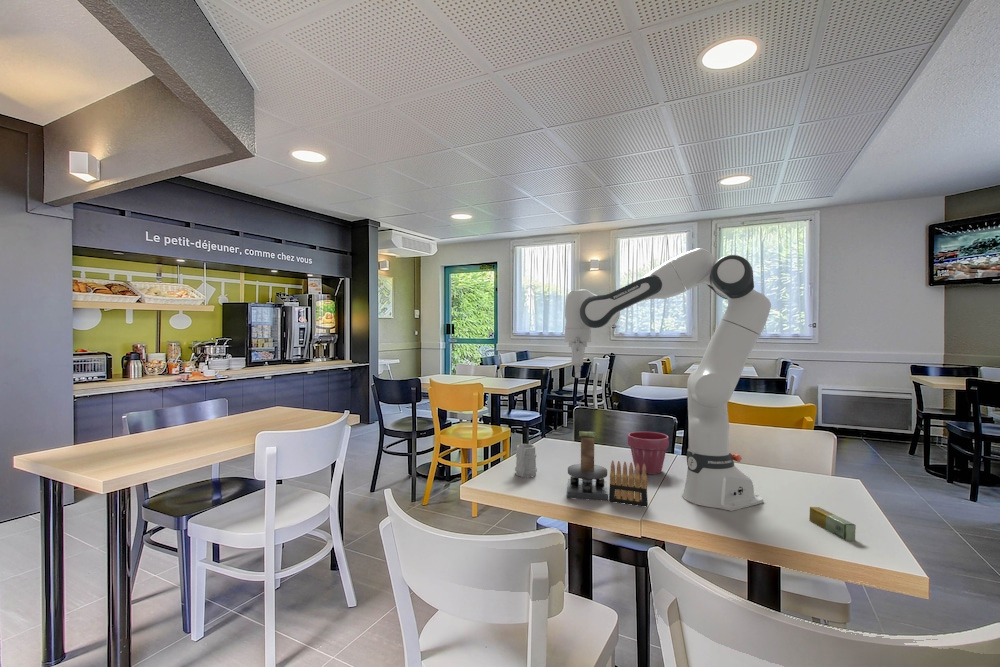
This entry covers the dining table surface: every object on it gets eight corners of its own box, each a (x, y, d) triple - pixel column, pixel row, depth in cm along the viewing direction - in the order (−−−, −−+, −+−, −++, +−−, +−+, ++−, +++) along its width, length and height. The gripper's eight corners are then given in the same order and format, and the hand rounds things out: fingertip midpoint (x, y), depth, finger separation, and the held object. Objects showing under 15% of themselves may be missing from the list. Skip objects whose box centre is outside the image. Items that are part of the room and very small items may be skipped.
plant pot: (622, 465, 170) (622, 430, 170) (658, 464, 171) (659, 430, 171) (635, 476, 156) (636, 439, 156) (675, 476, 157) (675, 439, 157)
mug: (539, 472, 161) (539, 438, 161) (531, 482, 150) (531, 445, 150) (518, 470, 163) (518, 436, 163) (509, 480, 152) (509, 444, 152)
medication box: (856, 541, 108) (856, 524, 108) (845, 541, 108) (846, 524, 108) (818, 521, 120) (818, 505, 120) (808, 521, 120) (808, 505, 120)
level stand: (606, 487, 145) (606, 470, 145) (608, 501, 133) (608, 482, 133) (568, 485, 147) (568, 468, 147) (566, 498, 135) (567, 480, 135)
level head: (606, 468, 145) (606, 428, 145) (608, 480, 133) (608, 437, 133) (568, 466, 147) (568, 426, 147) (567, 478, 135) (567, 435, 135)
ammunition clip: (608, 501, 133) (609, 460, 133) (609, 499, 134) (609, 459, 134) (647, 507, 128) (647, 464, 129) (647, 505, 130) (647, 463, 130)
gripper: (587, 337, 145) (587, 380, 145) (587, 337, 165) (586, 375, 165) (567, 337, 146) (567, 380, 146) (569, 337, 166) (569, 374, 166)
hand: (577, 377), depth 156 cm, fingers closed
